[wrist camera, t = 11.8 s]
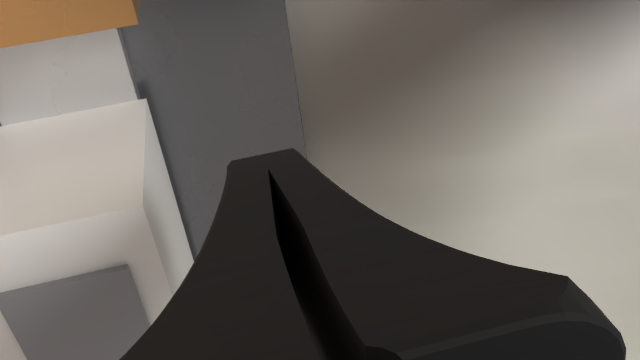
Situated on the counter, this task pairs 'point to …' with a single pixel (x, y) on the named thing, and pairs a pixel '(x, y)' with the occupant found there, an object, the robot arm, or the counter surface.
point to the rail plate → (161, 80)
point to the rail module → (85, 234)
